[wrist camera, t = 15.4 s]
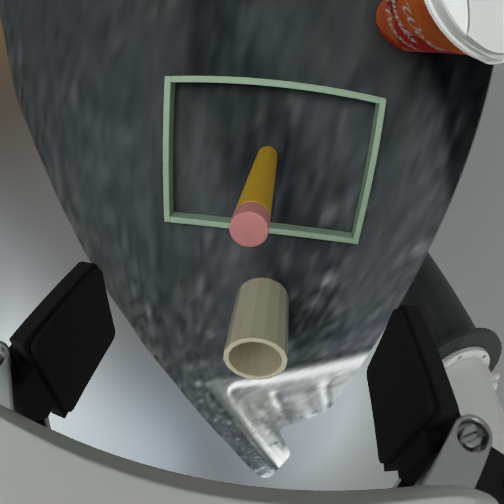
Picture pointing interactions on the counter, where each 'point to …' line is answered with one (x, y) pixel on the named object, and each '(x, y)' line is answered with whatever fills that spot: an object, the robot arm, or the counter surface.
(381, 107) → the tray
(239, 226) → the pencil
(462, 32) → the paper cup
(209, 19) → the counter surface
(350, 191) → the counter surface
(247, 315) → the pen cup
